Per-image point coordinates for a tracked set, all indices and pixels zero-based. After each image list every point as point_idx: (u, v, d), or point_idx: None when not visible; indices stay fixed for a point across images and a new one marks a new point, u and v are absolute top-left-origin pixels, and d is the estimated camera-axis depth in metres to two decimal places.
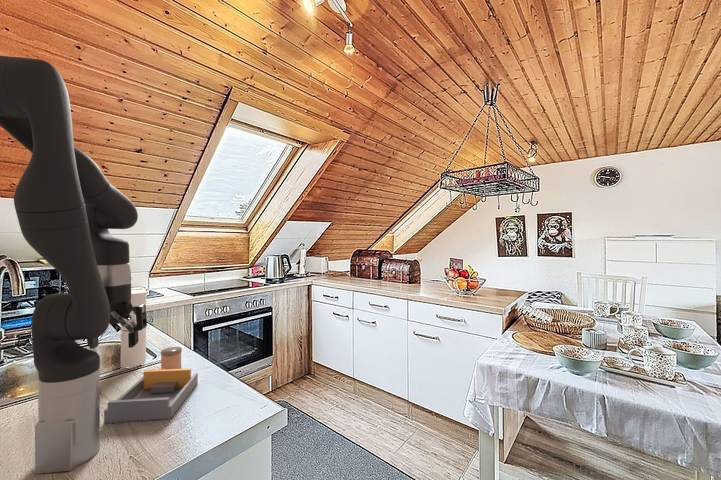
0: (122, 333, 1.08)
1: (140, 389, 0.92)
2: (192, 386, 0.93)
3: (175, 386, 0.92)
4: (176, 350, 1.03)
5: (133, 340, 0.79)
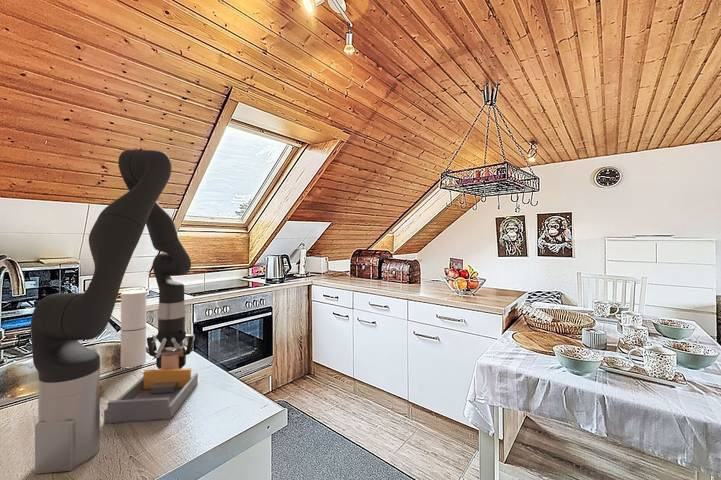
0: (122, 333, 1.08)
1: (140, 389, 0.92)
2: (192, 386, 0.93)
3: (175, 386, 0.92)
4: (176, 350, 1.03)
5: (182, 362, 1.04)
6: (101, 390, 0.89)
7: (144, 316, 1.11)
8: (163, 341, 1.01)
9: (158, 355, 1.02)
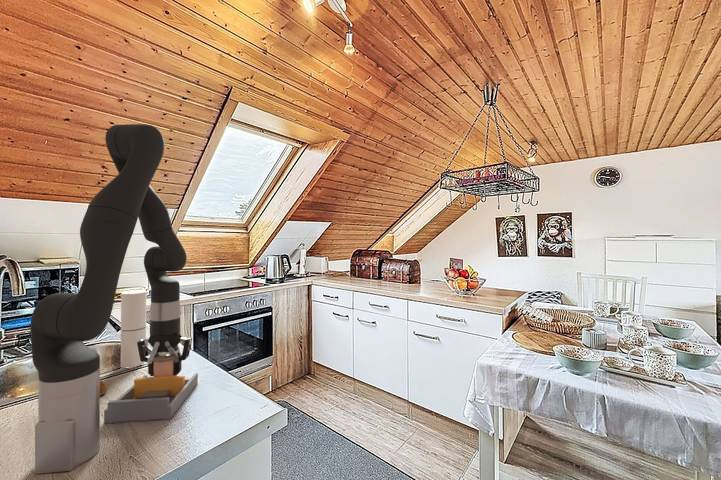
0: (122, 333, 1.08)
1: None
2: (192, 386, 0.93)
3: (167, 395, 0.87)
4: (170, 355, 0.92)
5: (177, 369, 0.92)
6: (105, 387, 0.91)
7: (144, 316, 1.11)
8: (156, 345, 0.90)
9: (150, 361, 0.91)
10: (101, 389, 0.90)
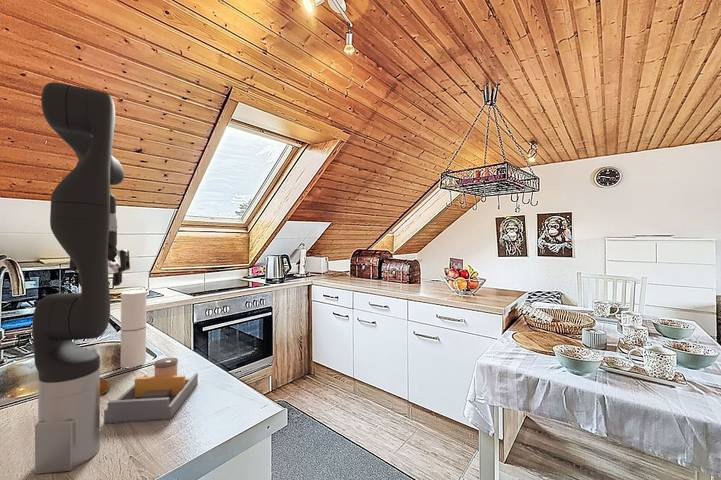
0: (122, 333, 1.08)
1: None
2: (192, 386, 0.93)
3: (168, 394, 0.88)
4: (171, 361, 0.93)
5: (117, 279, 0.93)
6: (108, 385, 0.92)
7: (144, 316, 1.11)
8: None
9: None
10: (105, 387, 0.91)
